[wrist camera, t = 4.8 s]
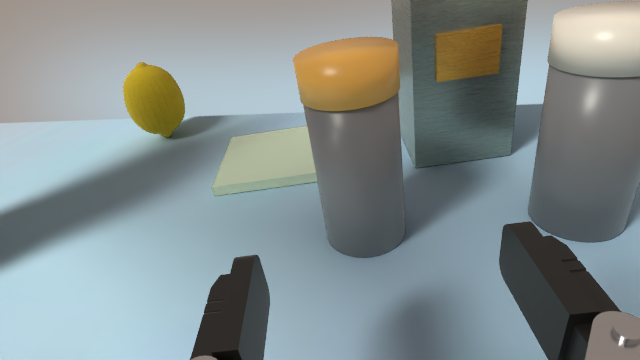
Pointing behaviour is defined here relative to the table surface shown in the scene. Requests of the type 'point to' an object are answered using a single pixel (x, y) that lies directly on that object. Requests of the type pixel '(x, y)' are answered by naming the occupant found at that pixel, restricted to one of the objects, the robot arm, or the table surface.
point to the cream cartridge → (589, 124)
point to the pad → (266, 161)
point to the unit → (458, 77)
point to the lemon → (153, 99)
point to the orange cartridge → (355, 140)
